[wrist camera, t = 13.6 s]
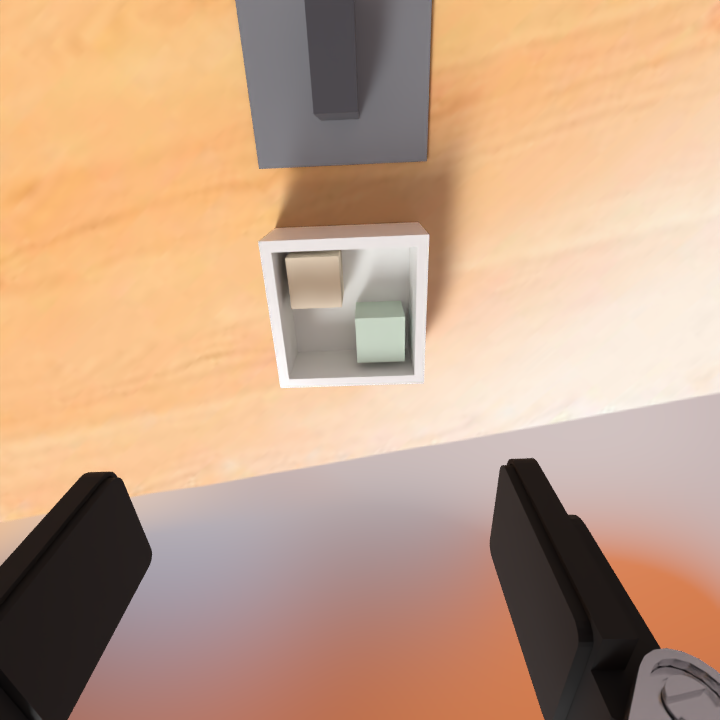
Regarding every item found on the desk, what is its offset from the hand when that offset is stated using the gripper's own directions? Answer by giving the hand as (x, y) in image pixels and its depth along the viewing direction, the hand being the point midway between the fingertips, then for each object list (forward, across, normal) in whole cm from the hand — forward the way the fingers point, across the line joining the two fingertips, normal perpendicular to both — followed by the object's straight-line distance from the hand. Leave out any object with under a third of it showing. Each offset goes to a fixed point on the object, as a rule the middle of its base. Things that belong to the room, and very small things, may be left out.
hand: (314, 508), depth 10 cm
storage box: (+28, 0, +3) cm, 28 cm away
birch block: (+27, +3, 0) cm, 27 cm away
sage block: (+27, -2, +6) cm, 27 cm away
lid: (+28, 0, -14) cm, 31 cm away
